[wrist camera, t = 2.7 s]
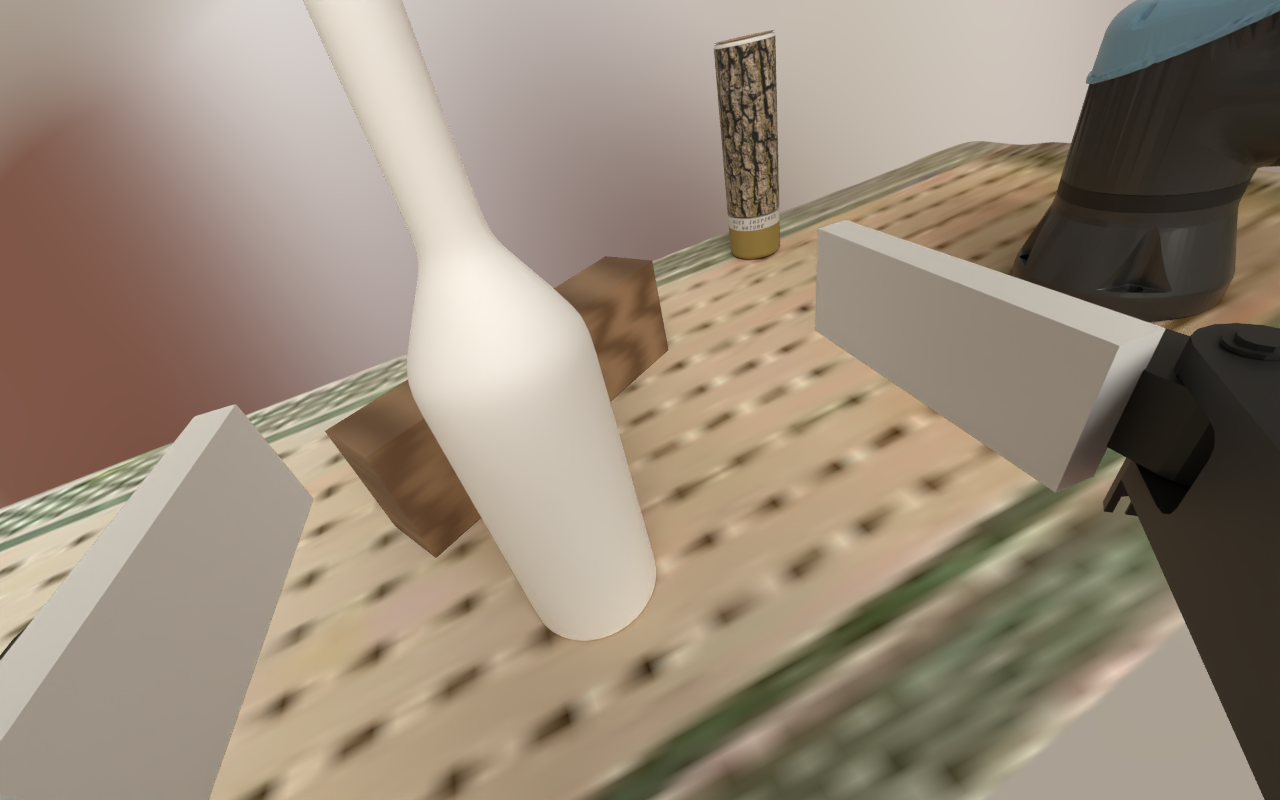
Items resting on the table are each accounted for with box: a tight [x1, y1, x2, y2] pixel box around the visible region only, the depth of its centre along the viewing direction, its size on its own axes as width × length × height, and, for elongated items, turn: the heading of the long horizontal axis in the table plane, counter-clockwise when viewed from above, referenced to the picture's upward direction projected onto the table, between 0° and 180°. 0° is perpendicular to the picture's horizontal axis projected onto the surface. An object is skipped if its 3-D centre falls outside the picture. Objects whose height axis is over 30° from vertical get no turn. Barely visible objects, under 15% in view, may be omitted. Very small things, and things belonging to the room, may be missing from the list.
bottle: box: [303, 0, 656, 641], centre depth 23 cm, size 8×8×30 cm
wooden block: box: [325, 257, 668, 557], centre depth 43 cm, size 30×6×10 cm, turn 143°
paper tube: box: [714, 30, 780, 259], centre depth 63 cm, size 7×7×25 cm
